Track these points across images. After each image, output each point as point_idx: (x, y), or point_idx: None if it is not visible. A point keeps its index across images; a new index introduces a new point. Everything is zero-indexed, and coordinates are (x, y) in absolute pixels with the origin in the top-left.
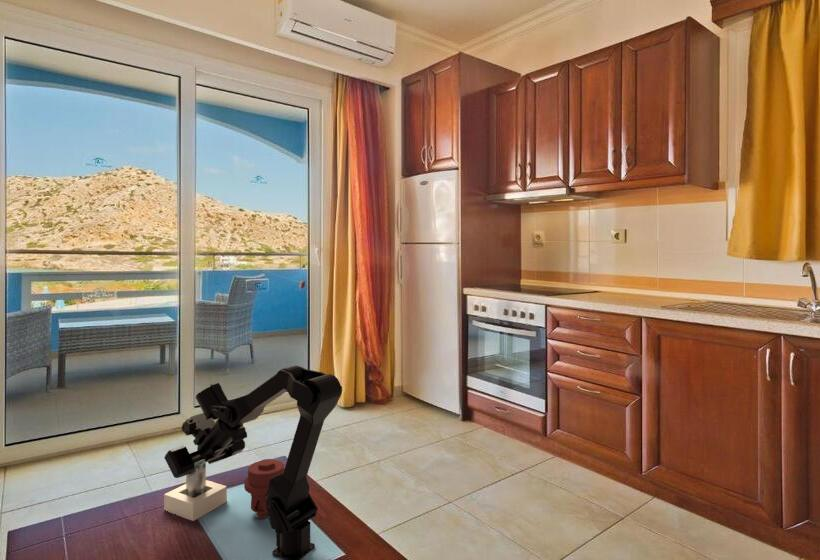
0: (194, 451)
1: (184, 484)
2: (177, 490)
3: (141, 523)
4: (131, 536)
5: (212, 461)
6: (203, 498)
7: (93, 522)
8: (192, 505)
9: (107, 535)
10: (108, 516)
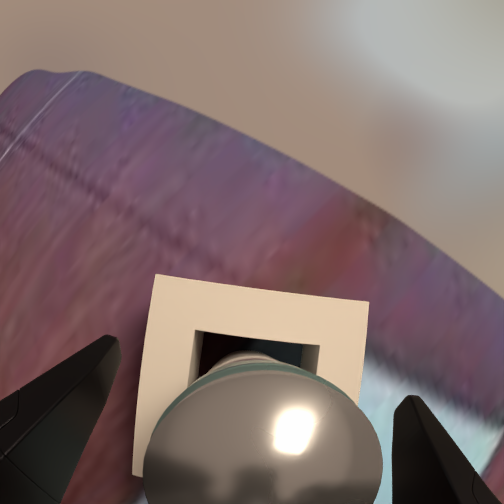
0: (342, 398)
1: (279, 292)
2: (211, 308)
3: (80, 278)
4: (22, 308)
5: (396, 459)
6: None
7: (66, 141)
8: (133, 469)
9: (16, 235)
10: (97, 146)
